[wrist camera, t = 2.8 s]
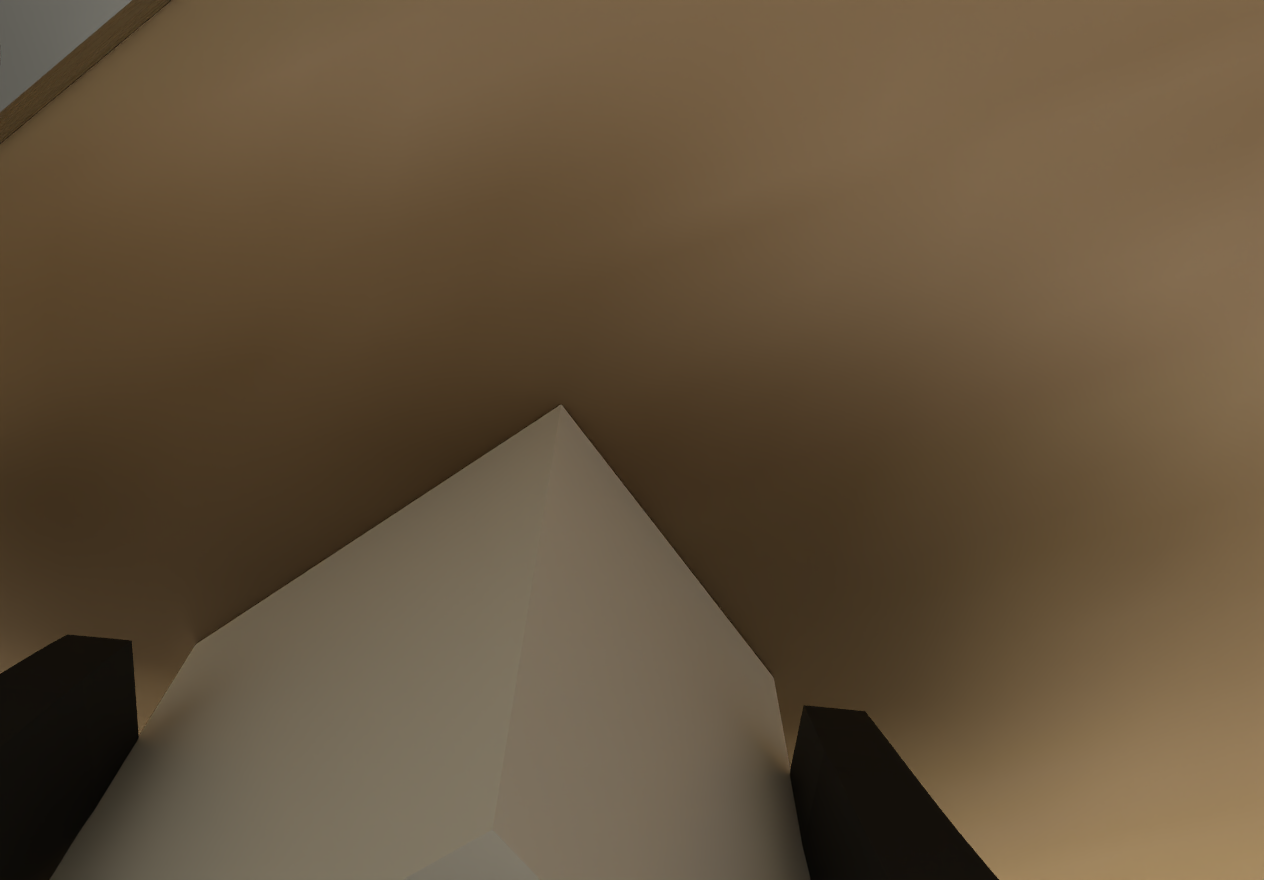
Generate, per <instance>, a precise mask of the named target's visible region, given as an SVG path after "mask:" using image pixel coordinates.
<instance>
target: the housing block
mask: <svg viewBox="0 0 1264 880" xmlns="http://www.w3.org/2000/svg"><path fill="white" fill-rule="evenodd" d="M50 880H810V875H809V871H808V867H807V862H806V858H805V854H804V850H803V846H802V840H801V835H800V829H799V824H798V818H797V813H796V807H795V801H794V796H793V790H792V785H791V779H790V764H789V759H788V753H787V748H786V742H785V737H784V731H783V726H782V720H781V715H780V709H779V704H778V698H777V693H776V687H775V682H774V678H773V676H772V675H771V674H770V672H769V671H768V670H767V669H766V667H765V666H764V665H763V663H762V662H761V661H760V660H759V658H758V657H757V656H756V654H755V653H754V652H753V651H752V649H751V648H750V647H749V645H748V644H747V643H746V642H745V640H744V639H743V638H742V636H741V635H740V634H739V633H738V631H737V630H736V629H735V627H734V626H733V625H732V623H731V622H730V621H729V620H728V618H727V617H726V616H725V614H724V613H723V612H722V611H721V609H720V608H719V607H718V605H717V604H716V603H715V602H714V600H713V599H712V598H711V596H710V595H709V594H708V593H707V591H706V590H705V589H704V587H703V586H702V585H701V584H700V582H699V581H698V580H697V578H696V577H695V576H694V575H693V573H692V572H691V571H690V569H689V568H688V567H687V566H686V564H685V563H684V562H683V560H682V559H681V558H680V557H679V555H678V554H677V553H676V551H675V550H674V549H673V548H672V546H671V545H670V544H669V542H668V541H667V540H666V539H665V537H664V536H663V535H662V533H661V532H660V531H659V529H658V528H657V527H656V526H655V524H654V523H653V522H652V520H651V519H650V518H649V517H648V515H647V514H646V513H645V511H644V510H643V509H642V508H641V506H640V505H639V504H638V502H637V501H636V500H635V499H634V497H633V496H632V495H631V493H630V492H629V491H628V490H627V488H626V487H625V486H624V484H623V483H622V482H621V481H620V479H619V478H618V477H617V475H616V474H615V473H614V472H613V470H612V469H611V468H610V466H609V465H608V464H607V463H606V461H605V460H604V459H603V457H602V456H601V455H600V454H599V452H598V451H597V450H596V448H595V447H594V446H593V445H592V443H591V442H590V441H589V439H588V438H587V437H586V435H585V434H584V433H583V432H582V430H581V429H580V428H579V426H578V425H577V424H576V423H575V421H574V420H573V419H572V417H571V416H570V415H569V414H568V412H567V411H566V410H565V408H564V407H563V406H562V405H559V406H558V407H556V408H555V409H553V410H552V411H550V412H549V413H547V414H546V415H544V416H543V417H541V418H540V419H538V420H536V421H535V422H533V423H532V424H530V425H529V426H527V427H526V428H524V429H523V430H521V431H520V432H518V433H517V434H515V435H514V436H512V437H511V438H509V439H508V440H506V441H505V442H503V443H501V444H500V445H498V446H497V447H495V448H494V449H492V450H491V451H489V452H488V453H486V454H485V455H483V456H482V457H480V458H479V459H477V460H476V461H474V462H473V463H471V464H469V465H468V466H466V467H465V468H463V469H462V470H460V471H459V472H457V473H456V474H454V475H453V476H451V477H450V478H448V479H447V480H445V481H444V482H442V483H441V484H439V485H438V486H436V487H434V488H433V489H431V490H430V491H428V492H427V493H425V494H424V495H422V496H421V497H419V498H418V499H416V500H415V501H413V502H412V503H410V504H409V505H407V506H406V507H404V508H403V509H401V510H399V511H398V512H396V513H395V514H393V515H392V516H390V517H389V518H387V519H386V520H384V521H383V522H381V523H380V524H378V525H377V526H375V527H374V528H372V529H371V530H369V531H367V532H366V533H364V534H363V535H361V536H360V537H358V538H357V539H355V540H354V541H352V542H351V543H349V544H348V545H346V546H345V547H343V548H342V549H340V550H339V551H337V552H336V553H334V554H332V555H331V556H329V557H328V558H326V559H325V560H323V561H322V562H320V563H319V564H317V565H316V566H314V567H313V568H311V569H310V570H308V571H307V572H305V573H304V574H302V575H301V576H299V577H297V578H296V579H294V580H293V581H291V582H290V583H288V584H287V585H285V586H284V587H282V588H281V589H279V590H278V591H276V592H275V593H273V594H272V595H270V596H269V597H267V598H265V599H264V600H262V601H261V602H259V603H258V604H256V605H255V606H253V607H252V608H250V609H249V610H247V611H246V612H244V613H243V614H241V615H240V616H238V617H237V618H235V619H234V620H232V621H230V622H229V623H227V624H226V625H224V626H223V627H221V628H220V629H218V630H217V631H215V632H214V633H212V634H211V635H209V636H208V637H206V638H205V639H203V640H202V641H200V642H199V643H197V644H195V646H194V648H193V649H192V651H191V652H190V654H189V656H188V657H187V659H186V660H185V662H184V664H183V665H182V667H181V669H180V670H179V672H178V673H177V675H176V677H175V678H174V680H173V681H172V683H171V685H170V686H169V688H168V690H167V691H166V693H165V694H164V696H163V698H162V699H161V701H160V702H159V704H158V706H157V707H156V709H155V711H154V712H153V714H152V715H151V717H150V719H149V720H148V722H147V723H146V725H145V727H144V728H143V730H142V731H141V733H140V735H139V739H138V740H137V742H136V743H135V745H134V747H133V748H132V750H131V752H130V753H129V755H128V756H127V758H126V760H125V761H124V763H123V764H122V766H121V768H120V769H119V771H118V773H117V774H116V776H115V777H114V779H113V781H112V782H111V784H110V786H109V787H108V789H107V790H106V792H105V794H104V795H103V797H102V798H101V800H100V802H99V803H98V805H97V807H96V808H95V810H94V811H93V813H92V814H91V816H90V817H89V819H88V820H87V821H86V823H85V824H84V826H83V827H82V829H81V830H80V832H79V833H78V835H77V836H76V838H75V840H74V841H73V843H72V844H71V846H70V848H69V849H68V851H67V852H66V854H65V856H64V857H63V859H62V861H61V862H60V864H59V865H58V867H57V869H56V870H55V872H54V873H53V875H52V877H51V878H50Z"/></svg>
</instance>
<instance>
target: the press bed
mask: <svg viewBox="0 0 1264 880" xmlns="http://www.w3.org/2000/svg"><path fill="white" fill-rule="evenodd" d="M169 1H170V0H0V143H1V142H2V141H4V140H5V139H6V138H7V137H8V136H10V135H11V134H12V133H13V132H14V131H15V130H17V129H18V128H19V127H20V126H21V125H23V124H24V123H25V122H26V121H27V120H29V119H30V118H31V117H32V116H33V115H35V114H36V113H37V112H38V111H39V110H41V109H42V108H43V107H44V106H45V105H46V104H48V103H49V102H50V101H51V100H52V99H54V98H55V97H56V96H57V95H58V94H60V93H61V92H62V91H63V90H64V89H66V88H67V87H68V86H69V85H70V84H72V83H73V82H74V81H75V80H76V79H77V78H79V77H80V76H81V75H82V74H83V73H85V72H86V71H87V70H88V69H89V68H91V67H92V66H93V65H94V64H95V63H97V62H98V61H99V60H100V59H101V58H102V57H104V56H105V55H106V54H107V53H108V52H110V51H111V50H112V49H113V48H114V47H116V46H117V45H118V44H119V43H120V42H122V41H123V40H124V39H125V38H126V37H128V36H129V35H130V34H131V33H132V32H133V31H135V30H136V29H137V28H138V27H139V26H141V25H142V24H143V23H144V22H145V21H147V20H148V19H149V18H150V17H151V16H153V15H154V14H155V13H156V12H157V11H158V10H160V9H161V8H162V7H163V6H164V5H166V4H167V3H168V2H169Z"/></svg>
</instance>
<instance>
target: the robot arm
mask: <svg viewBox="0 0 1264 880" xmlns="http://www.w3.org/2000/svg"><path fill="white" fill-rule="evenodd" d="M138 739H139V736H138V722H137V708H136V694H135V680H134V667H133V653H132V641H129V640H119V639H108V638H98V637H87V636H77V635H66V636H64V637H62V638H61V639H59V640H57V641H55V642H53V643H51V644H49V645H48V646H46V647H44V648H43V649H41V650H39V651H37V652H36V653H34V654H32V655H31V656H29V657H27V658H26V659H24V660H22V661H21V662H19V663H17V664H16V665H14V666H12V667H11V668H9V669H8V670H6V671H4V672H3V673H1V674H0V880H50V878H51V877H52V875H53V873H54V872H55V870H56V869H57V867H58V865H59V864H60V862H61V861H62V859H63V857H64V856H65V854H66V852H67V851H68V849H69V848H70V846H71V844H72V843H73V841H74V840H75V838H76V836H77V835H78V833H79V832H80V830H81V829H82V827H83V826H84V824H85V823H86V821H87V820H88V819H89V817H90V816H91V814H92V813H93V811H94V810H95V808H96V807H97V805H98V803H99V802H100V800H101V798H102V797H103V795H104V794H105V792H106V790H107V789H108V787H109V786H110V784H111V782H112V781H113V779H114V777H115V776H116V774H117V773H118V771H119V769H120V768H121V766H122V764H123V763H124V761H125V760H126V758H127V756H128V755H129V753H130V752H131V750H132V748H133V747H134V745H135V743H136V742H137V740H138ZM790 779H791V785H792V790H793V796H794V801H795V807H796V813H797V818H798V824H799V829H800V835H801V840H802V846H803V850H804V854H805V858H806V862H807V867H808V871H809V875H810V880H999V879H998V878H997V877H996V876H995V875H994V873H993V872H992V871H991V870H990V869H989V868H988V866H987V865H986V864H985V863H984V862H983V860H982V859H981V858H980V857H979V856H978V854H977V853H976V852H975V851H974V850H973V848H972V847H971V846H970V845H969V844H968V842H967V841H966V840H965V839H964V838H963V836H962V835H961V834H960V833H959V832H958V830H957V829H956V828H955V827H954V825H953V824H952V823H951V822H950V820H949V819H948V818H947V817H946V815H945V814H944V813H943V812H942V810H941V809H940V808H939V807H938V805H937V804H936V803H935V801H934V800H933V799H932V798H931V796H930V795H929V794H928V792H927V791H926V790H925V788H924V787H923V786H922V785H921V783H920V782H919V781H918V779H917V778H916V777H915V776H914V774H913V773H912V772H911V770H910V769H909V768H908V766H907V765H906V764H905V762H904V761H903V760H902V759H901V757H900V756H899V755H898V753H897V752H896V751H895V749H894V748H893V747H892V745H891V744H890V743H889V741H888V740H887V739H886V738H885V736H884V735H883V734H882V732H881V731H880V730H879V729H878V727H877V726H876V725H875V723H874V722H873V721H872V720H871V718H870V717H869V716H868V714H867V713H866V712H865V711H856V710H846V709H835V708H825V707H814V706H804V707H803V712H802V716H801V721H800V726H799V731H798V736H797V740H796V745H795V750H794V755H793V759H792V764H791V769H790Z"/></svg>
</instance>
